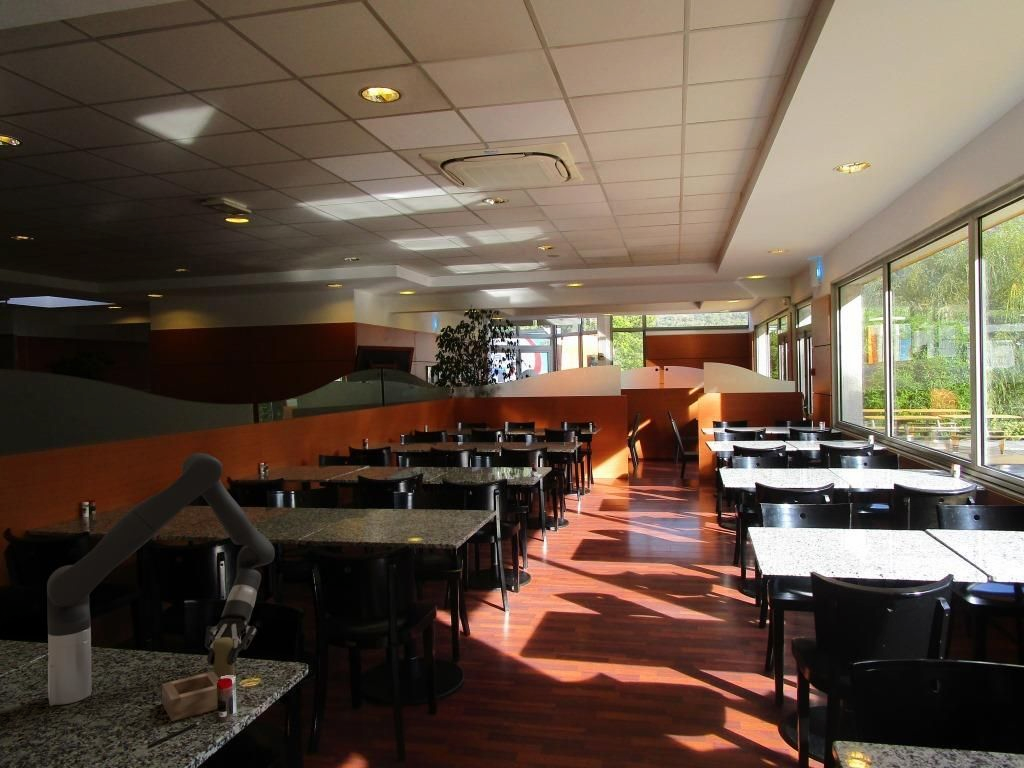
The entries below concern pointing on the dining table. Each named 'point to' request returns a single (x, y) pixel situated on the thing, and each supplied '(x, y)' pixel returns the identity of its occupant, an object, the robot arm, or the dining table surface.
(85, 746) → the dining table surface
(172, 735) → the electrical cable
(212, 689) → the wooden box
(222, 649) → the cork
